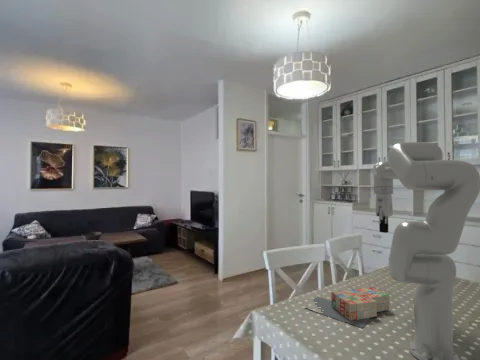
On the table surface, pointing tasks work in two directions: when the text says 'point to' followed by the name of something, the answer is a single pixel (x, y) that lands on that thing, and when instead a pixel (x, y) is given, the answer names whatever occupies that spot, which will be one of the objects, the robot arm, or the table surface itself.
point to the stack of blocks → (360, 302)
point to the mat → (337, 312)
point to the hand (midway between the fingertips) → (383, 232)
